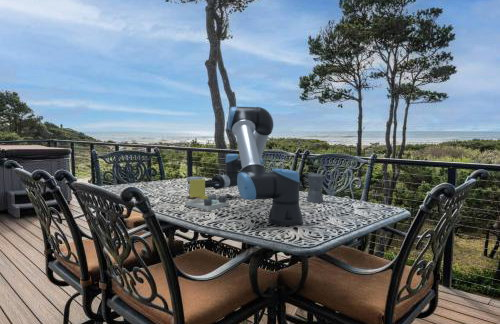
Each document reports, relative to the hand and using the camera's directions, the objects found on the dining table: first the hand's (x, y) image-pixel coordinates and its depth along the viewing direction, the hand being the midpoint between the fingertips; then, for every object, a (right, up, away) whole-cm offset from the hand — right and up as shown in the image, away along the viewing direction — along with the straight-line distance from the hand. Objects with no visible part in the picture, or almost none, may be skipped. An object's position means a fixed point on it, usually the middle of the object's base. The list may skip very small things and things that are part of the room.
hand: (188, 186), depth 187 cm
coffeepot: (+68, -10, +17) cm, 71 cm away
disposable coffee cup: (-1, -8, +28) cm, 29 cm away
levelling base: (+9, -10, +4) cm, 14 cm away
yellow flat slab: (+7, -8, +3) cm, 11 cm away
